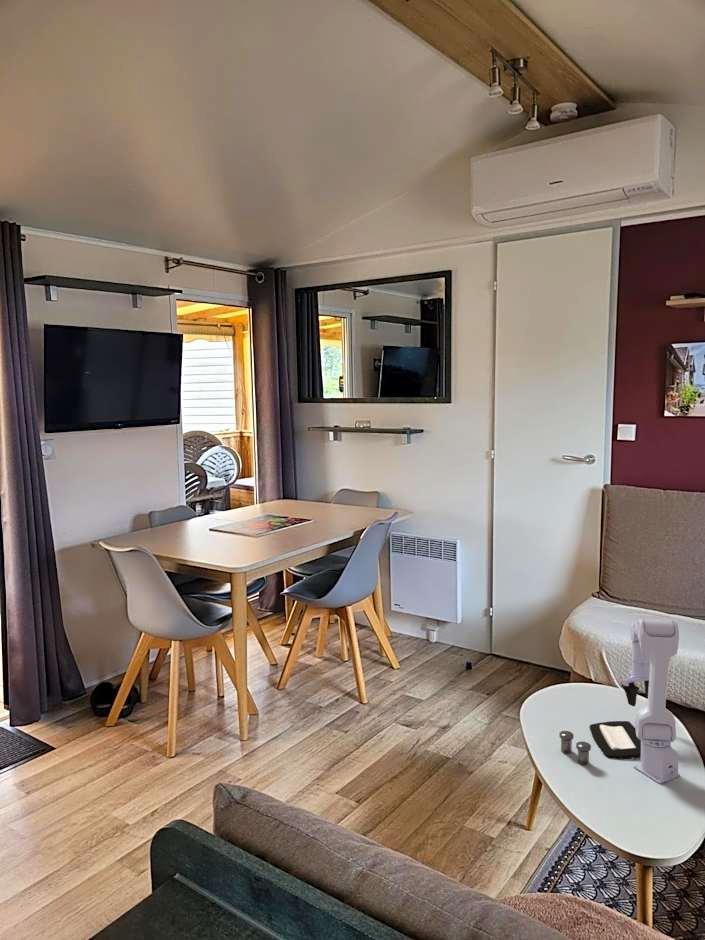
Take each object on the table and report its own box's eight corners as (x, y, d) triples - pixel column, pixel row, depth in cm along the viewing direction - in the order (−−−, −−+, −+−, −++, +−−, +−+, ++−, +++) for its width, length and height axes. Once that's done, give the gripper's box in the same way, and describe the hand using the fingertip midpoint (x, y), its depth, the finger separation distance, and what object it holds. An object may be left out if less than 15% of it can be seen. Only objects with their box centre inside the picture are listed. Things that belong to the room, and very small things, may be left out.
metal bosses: (593, 764, 204) (593, 746, 203) (583, 767, 202) (583, 750, 202) (566, 746, 214) (566, 729, 213) (556, 749, 212) (556, 732, 211)
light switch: (585, 720, 225) (630, 716, 224) (586, 729, 226) (631, 724, 225) (604, 754, 206) (653, 750, 205) (605, 763, 206) (654, 759, 205)
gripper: (647, 651, 226) (646, 691, 228) (614, 661, 220) (613, 702, 222) (666, 659, 220) (665, 700, 222) (632, 669, 213) (631, 711, 215)
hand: (640, 701), depth 221 cm, fingers open, 7 cm apart
